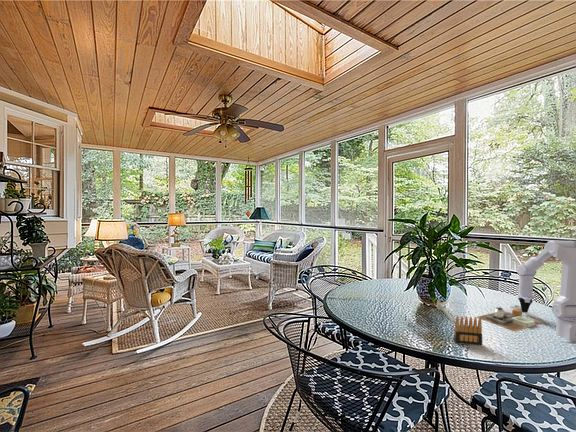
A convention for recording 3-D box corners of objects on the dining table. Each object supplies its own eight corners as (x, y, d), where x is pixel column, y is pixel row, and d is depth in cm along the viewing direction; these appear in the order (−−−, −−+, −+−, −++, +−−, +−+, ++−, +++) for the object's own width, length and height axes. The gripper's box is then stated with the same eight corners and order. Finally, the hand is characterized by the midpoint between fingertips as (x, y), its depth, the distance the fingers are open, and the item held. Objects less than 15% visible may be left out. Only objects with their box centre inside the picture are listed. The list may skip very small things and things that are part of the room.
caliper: (436, 309, 166) (437, 298, 166) (438, 309, 166) (438, 298, 166) (453, 324, 146) (454, 311, 146) (455, 324, 146) (456, 312, 146)
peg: (505, 322, 145) (505, 309, 145) (497, 322, 145) (497, 309, 145) (500, 319, 148) (501, 306, 148) (493, 319, 149) (493, 306, 149)
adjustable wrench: (549, 326, 144) (549, 323, 144) (534, 325, 145) (534, 322, 145) (519, 308, 169) (520, 305, 169) (507, 307, 170) (507, 304, 170)
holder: (542, 325, 144) (543, 320, 144) (514, 333, 135) (514, 328, 135) (503, 312, 161) (503, 307, 161) (475, 318, 152) (475, 314, 152)
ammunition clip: (480, 343, 126) (481, 316, 125) (482, 345, 124) (483, 318, 123) (453, 340, 128) (454, 314, 127) (455, 342, 126) (455, 316, 126)
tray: (535, 325, 142) (535, 321, 142) (526, 327, 139) (526, 323, 139) (519, 319, 148) (519, 315, 148) (510, 321, 146) (511, 318, 146)
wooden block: (522, 316, 152) (522, 310, 152) (509, 319, 148) (509, 313, 148) (515, 314, 155) (515, 309, 155) (503, 317, 151) (503, 311, 150)
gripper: (538, 291, 146) (537, 318, 147) (532, 284, 159) (531, 309, 159) (520, 289, 150) (519, 315, 151) (516, 283, 162) (515, 306, 163)
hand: (524, 312), depth 155 cm, fingers closed
